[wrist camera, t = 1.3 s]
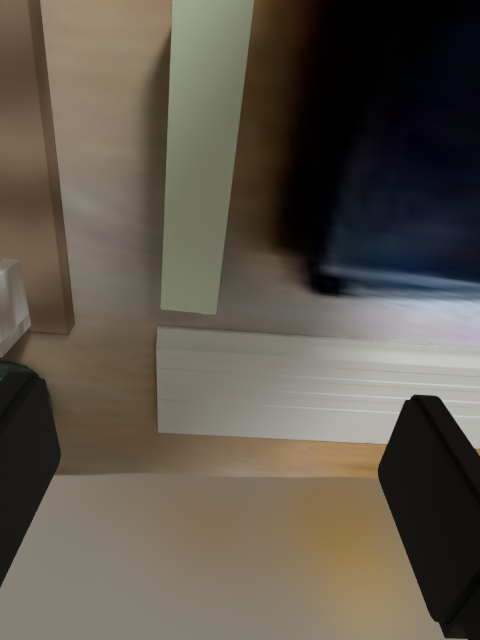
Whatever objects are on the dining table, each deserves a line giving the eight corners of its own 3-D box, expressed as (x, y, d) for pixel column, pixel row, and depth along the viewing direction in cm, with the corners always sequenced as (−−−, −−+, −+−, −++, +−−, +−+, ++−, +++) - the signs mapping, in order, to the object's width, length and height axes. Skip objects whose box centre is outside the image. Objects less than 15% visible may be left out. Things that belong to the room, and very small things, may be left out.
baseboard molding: (158, 305, 29) (160, 420, 35) (151, 324, 27) (155, 444, 33) (542, 331, 31) (483, 436, 37) (569, 352, 29) (501, 461, 35)
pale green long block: (184, 2, 20) (173, -21, 16) (250, 14, 20) (255, -6, 17) (170, 280, 28) (160, 309, 24) (218, 285, 28) (215, 315, 24)
